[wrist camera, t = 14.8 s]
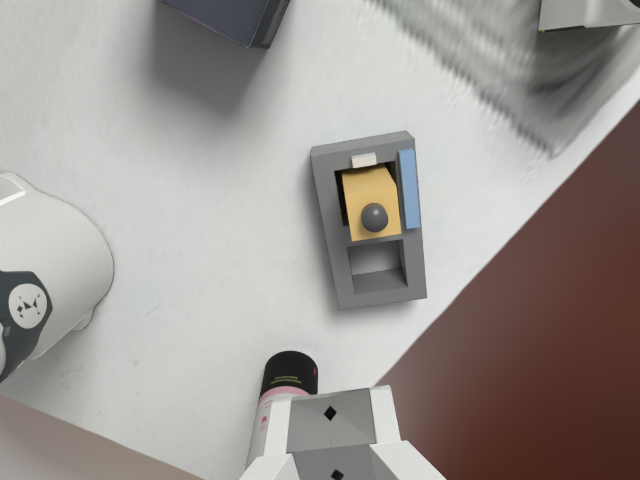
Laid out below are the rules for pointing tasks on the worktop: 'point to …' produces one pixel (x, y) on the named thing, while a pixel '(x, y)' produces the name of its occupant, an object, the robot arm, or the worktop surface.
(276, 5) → the small box
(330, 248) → the grey compartment tray
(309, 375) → the beverage can
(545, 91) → the worktop surface
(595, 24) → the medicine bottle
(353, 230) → the drawer with knob
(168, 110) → the worktop surface
